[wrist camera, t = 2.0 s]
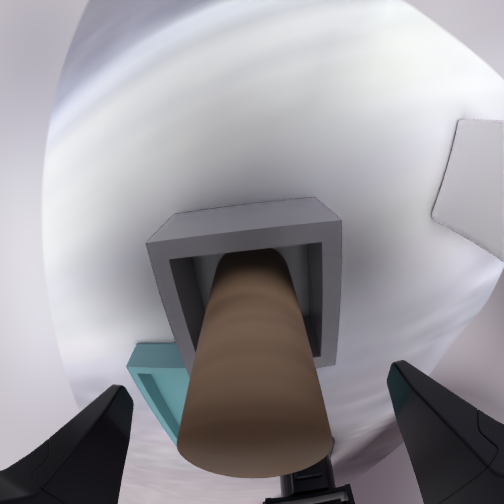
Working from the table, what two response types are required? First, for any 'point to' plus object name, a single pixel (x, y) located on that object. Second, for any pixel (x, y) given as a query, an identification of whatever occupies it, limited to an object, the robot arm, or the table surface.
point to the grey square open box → (242, 239)
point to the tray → (161, 382)
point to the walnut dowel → (253, 376)
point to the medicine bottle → (475, 185)
